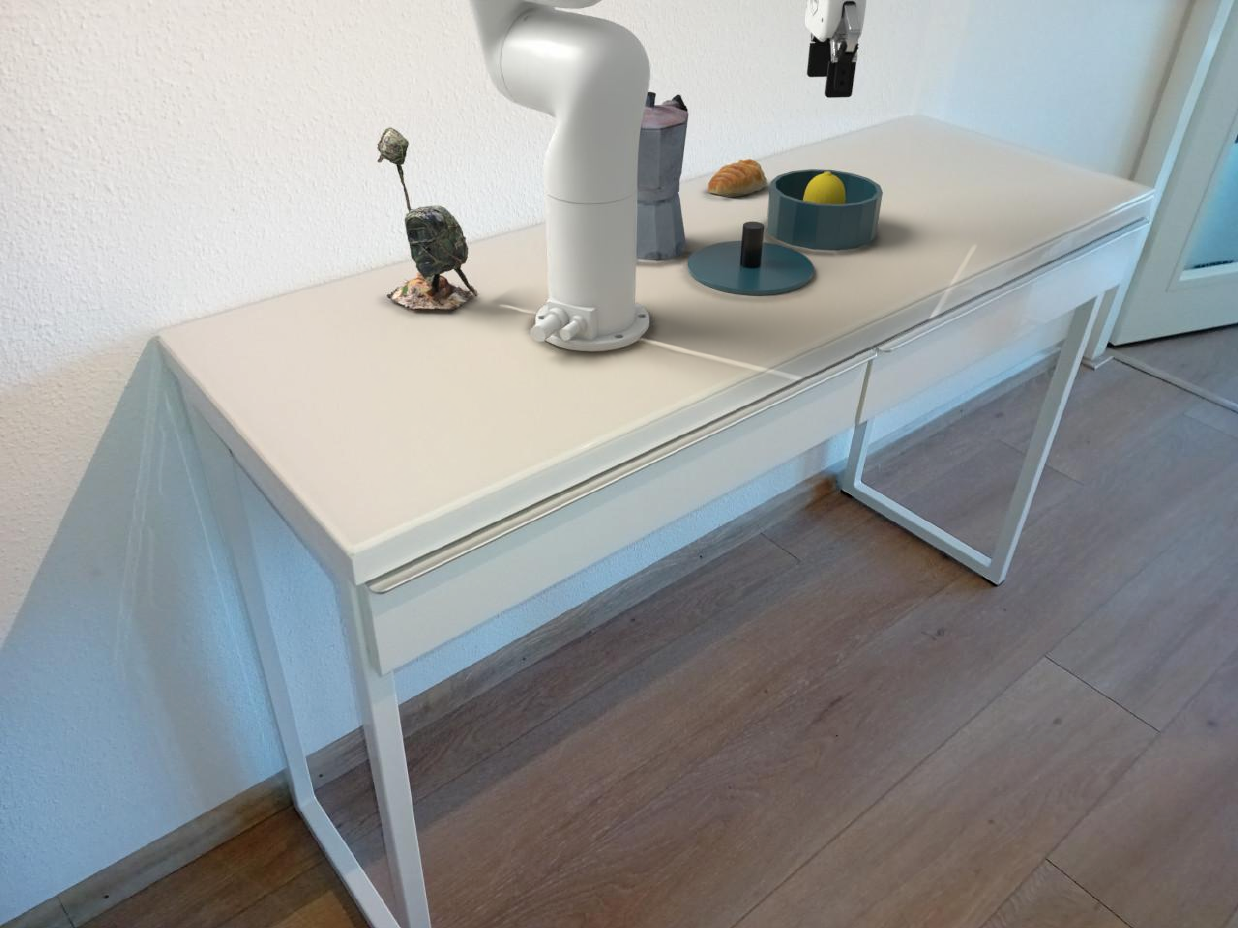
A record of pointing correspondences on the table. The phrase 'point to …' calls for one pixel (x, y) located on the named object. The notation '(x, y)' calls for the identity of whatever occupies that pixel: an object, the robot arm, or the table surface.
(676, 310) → the table surface
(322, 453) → the table surface
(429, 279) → the stone sculpture
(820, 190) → the lemon
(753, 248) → the lid
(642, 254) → the moka pot
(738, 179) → the pastry
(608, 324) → the robot arm
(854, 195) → the pot
